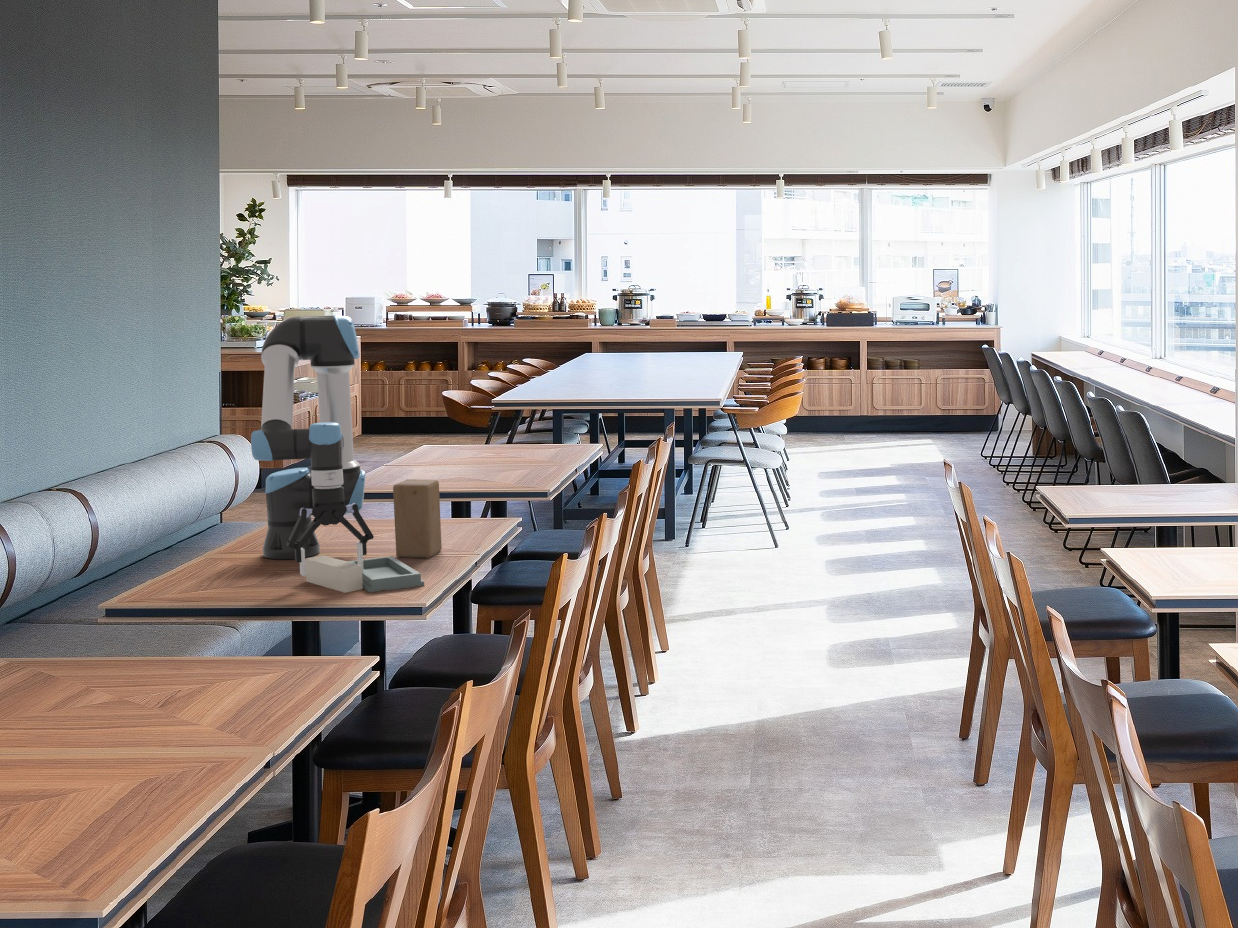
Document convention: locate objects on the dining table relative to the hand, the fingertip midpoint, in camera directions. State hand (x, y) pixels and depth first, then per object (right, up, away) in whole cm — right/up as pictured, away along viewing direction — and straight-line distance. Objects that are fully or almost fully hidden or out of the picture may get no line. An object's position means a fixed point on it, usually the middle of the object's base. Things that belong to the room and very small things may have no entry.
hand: (332, 572), depth 303 cm
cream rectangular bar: (0, -3, +1) cm, 3 cm away
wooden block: (+16, +2, +34) cm, 38 cm away
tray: (+11, -2, +5) cm, 13 cm away
